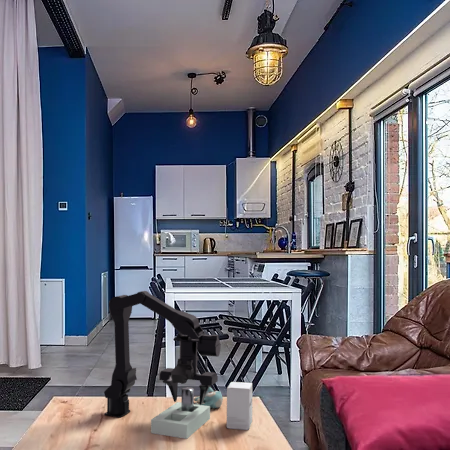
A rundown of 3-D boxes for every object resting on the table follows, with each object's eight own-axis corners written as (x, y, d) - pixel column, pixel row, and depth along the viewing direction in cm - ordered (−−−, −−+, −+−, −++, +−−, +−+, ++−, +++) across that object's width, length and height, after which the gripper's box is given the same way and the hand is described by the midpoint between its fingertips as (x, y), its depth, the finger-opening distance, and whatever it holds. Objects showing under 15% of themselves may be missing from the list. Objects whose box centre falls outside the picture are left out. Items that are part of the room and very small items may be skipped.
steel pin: (179, 418, 155) (179, 389, 156) (184, 414, 159) (184, 386, 160) (190, 419, 154) (190, 391, 155) (195, 416, 158) (195, 388, 158)
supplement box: (249, 430, 149) (249, 388, 149) (225, 428, 150) (226, 387, 151) (252, 422, 156) (252, 382, 156) (230, 420, 157) (230, 381, 158)
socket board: (150, 433, 146) (151, 419, 146) (177, 414, 163) (177, 402, 163) (186, 438, 142) (186, 424, 142) (210, 418, 159) (210, 406, 159)
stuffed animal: (204, 383, 181) (228, 383, 173) (207, 403, 179) (231, 404, 172) (184, 390, 172) (208, 390, 165) (186, 411, 171) (211, 412, 164)
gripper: (150, 357, 153) (150, 407, 153) (205, 362, 147) (204, 414, 146) (167, 350, 164) (166, 397, 163) (218, 355, 157) (218, 403, 156)
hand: (188, 403), depth 157 cm, fingers open, 9 cm apart
